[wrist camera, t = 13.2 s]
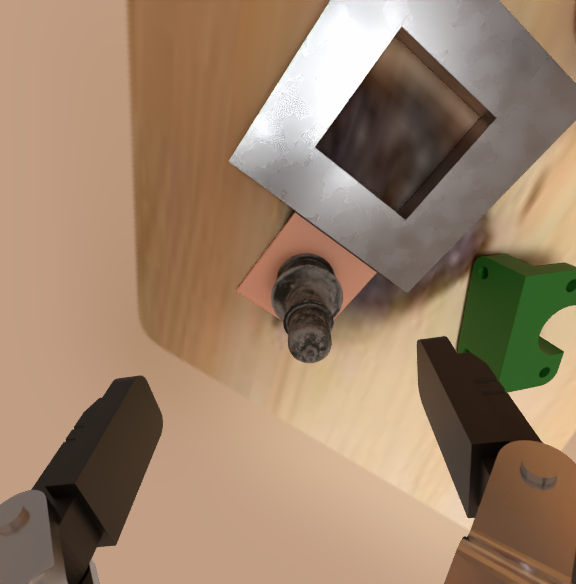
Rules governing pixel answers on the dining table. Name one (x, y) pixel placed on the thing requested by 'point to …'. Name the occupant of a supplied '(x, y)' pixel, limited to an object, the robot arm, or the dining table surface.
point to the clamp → (515, 317)
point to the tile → (300, 240)
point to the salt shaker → (307, 305)
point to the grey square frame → (460, 161)
